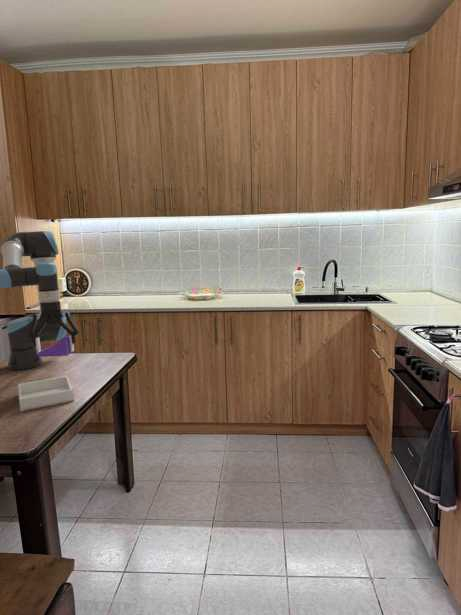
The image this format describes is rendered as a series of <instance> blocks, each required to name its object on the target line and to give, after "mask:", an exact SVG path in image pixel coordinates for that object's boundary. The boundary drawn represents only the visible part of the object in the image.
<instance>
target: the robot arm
mask: <svg viewBox="0 0 461 615" xmlns="http://www.w3.org/2000/svg"><path fill="white" fill-rule="evenodd" d="M0 254H1V255H2V269H0V288H4V289H5V288H17V287H27V286H28V287H30V286H31V287H32V286H37V288H36V289H37V296H38V297H37V298H38V304H39V313H34V314H33V315H32V316H23V317H19V318H16V319H13V320H11V321H9V322H8V323H7V326H6V327H7V332H6V333H7V336H8V344H9V357H8V360H7V367H8V369H9V370H11V371H21V370H22V371H23V370H29V369H33V368H36V367H39V366H41V365H42V364H43V361H42V359H43V358H42V357H38V353H39V352H40V351H42V349H41V348H42V347H41V343H47V342H48V343H49V342H54V341H55V342H56V341H61V339H62V338H64V337H65V336H67V333H68V334H69V335H68V336H69V341H70V350H71V352H72V353H73V352H74V351H75V346H74V344H76V342H77V341H76V340H77V339H76V335H79V333H80V330H79V328H78V326H77V325H76V323H75V322H74V320H73V318H72V317H71V313H70V311H69V310H68V311H66V312H65V311H64V312H62V307H61V306H62V305H61V301H60V300H61V299H60V298H61V297H60V289H59V279H58V269H57V264H56V263H55V262H54V261H56V259H57V256H58V255H59V249H58V244H57V240H56V236H55V234H54V233H53V232H52V231H47V230H45V231H42V230H41V231H39V230H38V231H22V232H21V231H20V232H19V231H18V232H15V233H13V234H11V235H9V236H7V237H5V239H4V240H3V241H2V243H1V245H0ZM23 257H29V258H30V261H31V262H33V263H34V266H32V267H31V266H30V267H23V259H22V258H23ZM67 322H68V324H69V325H70V326H69V325H68V324H67Z"/></svg>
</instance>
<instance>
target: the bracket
mask: <svg viewBox="0 0 461 615" xmlns="http://www.w3.org/2000/svg"><path fill="white" fill-rule="evenodd" d="M69 336H70V335H66V336H65V337H64V338H62V339H61V340H60V341H59V342H57V343H56V344H53V345H51V346H48V347H46V348H43V349H41V351H40V352H39V353H38V357H41V358H42V357H43V358H44V357H62V356H63V357H66V356H67V357H68V356H69V355H71V353H73V352H71V350H70V341H69Z"/></svg>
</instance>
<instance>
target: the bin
mask: <svg viewBox="0 0 461 615" xmlns="http://www.w3.org/2000/svg"><path fill="white" fill-rule="evenodd" d="M17 386H18V400H19V407H20V410H19V411H20V412H26V411H30V410H35V409H39V408H40V409H41V408H46V407H49V406H51V407H52V406H57V405H61V404H65V403H71V402H75V400H74V399H75V397H74V389H73V387H72V384H71V382H70V379H69V377H68V375H64V376H58V377H51V378H47V379H46V378H45V379H40V380H36V381H35V380H34V381H28V382H22V383H18V385H17Z"/></svg>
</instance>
